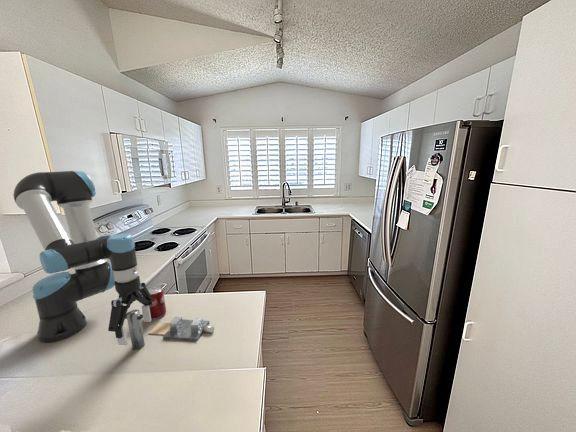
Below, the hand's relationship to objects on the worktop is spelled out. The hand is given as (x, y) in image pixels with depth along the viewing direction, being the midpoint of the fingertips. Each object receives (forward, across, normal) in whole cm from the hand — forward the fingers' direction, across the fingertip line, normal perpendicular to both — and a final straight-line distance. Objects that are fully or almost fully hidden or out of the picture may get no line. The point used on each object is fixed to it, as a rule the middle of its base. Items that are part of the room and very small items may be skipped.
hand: (136, 331), depth 93 cm
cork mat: (+6, +10, -3) cm, 12 cm away
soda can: (+6, +19, +5) cm, 21 cm away
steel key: (+6, 0, 0) cm, 6 cm away
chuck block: (+6, +10, -16) cm, 20 cm away
